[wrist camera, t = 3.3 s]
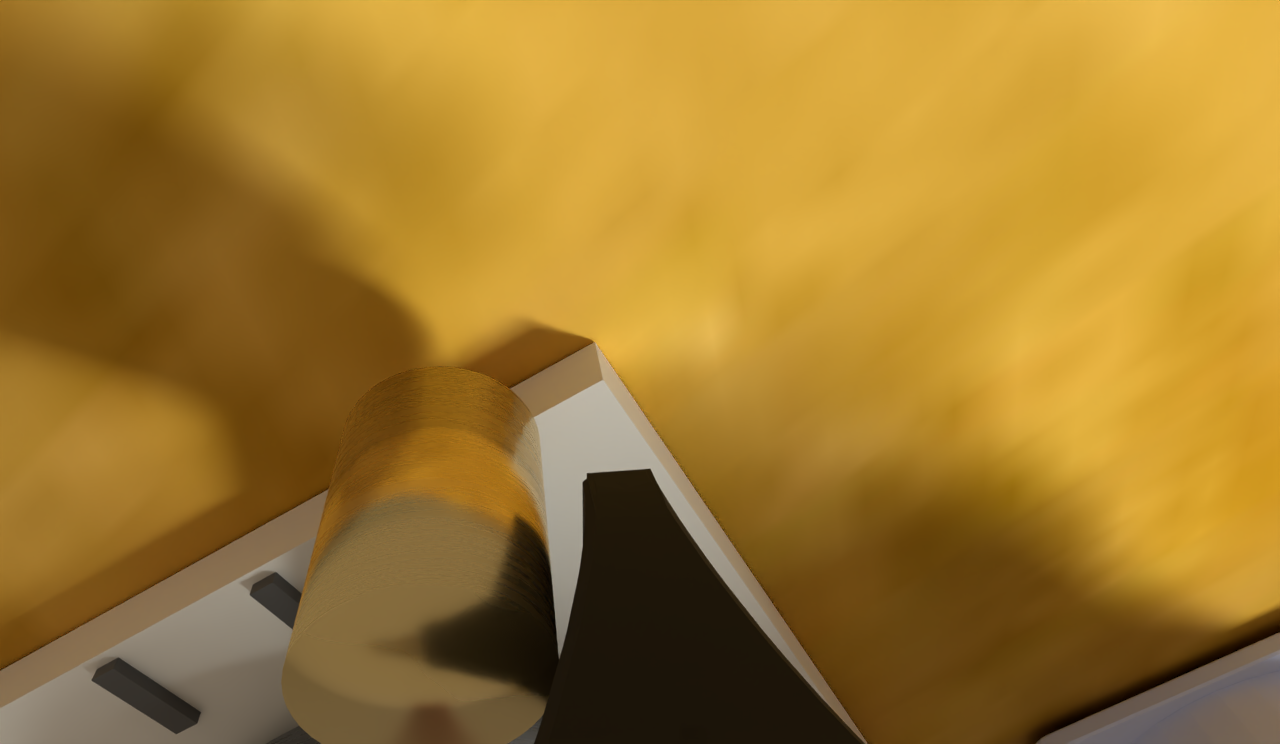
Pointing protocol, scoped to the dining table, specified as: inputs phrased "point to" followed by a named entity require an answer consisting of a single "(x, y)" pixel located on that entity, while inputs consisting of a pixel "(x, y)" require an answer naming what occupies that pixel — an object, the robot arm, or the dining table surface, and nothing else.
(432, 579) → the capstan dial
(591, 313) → the dining table surface
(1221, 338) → the dining table surface
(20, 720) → the white square board
